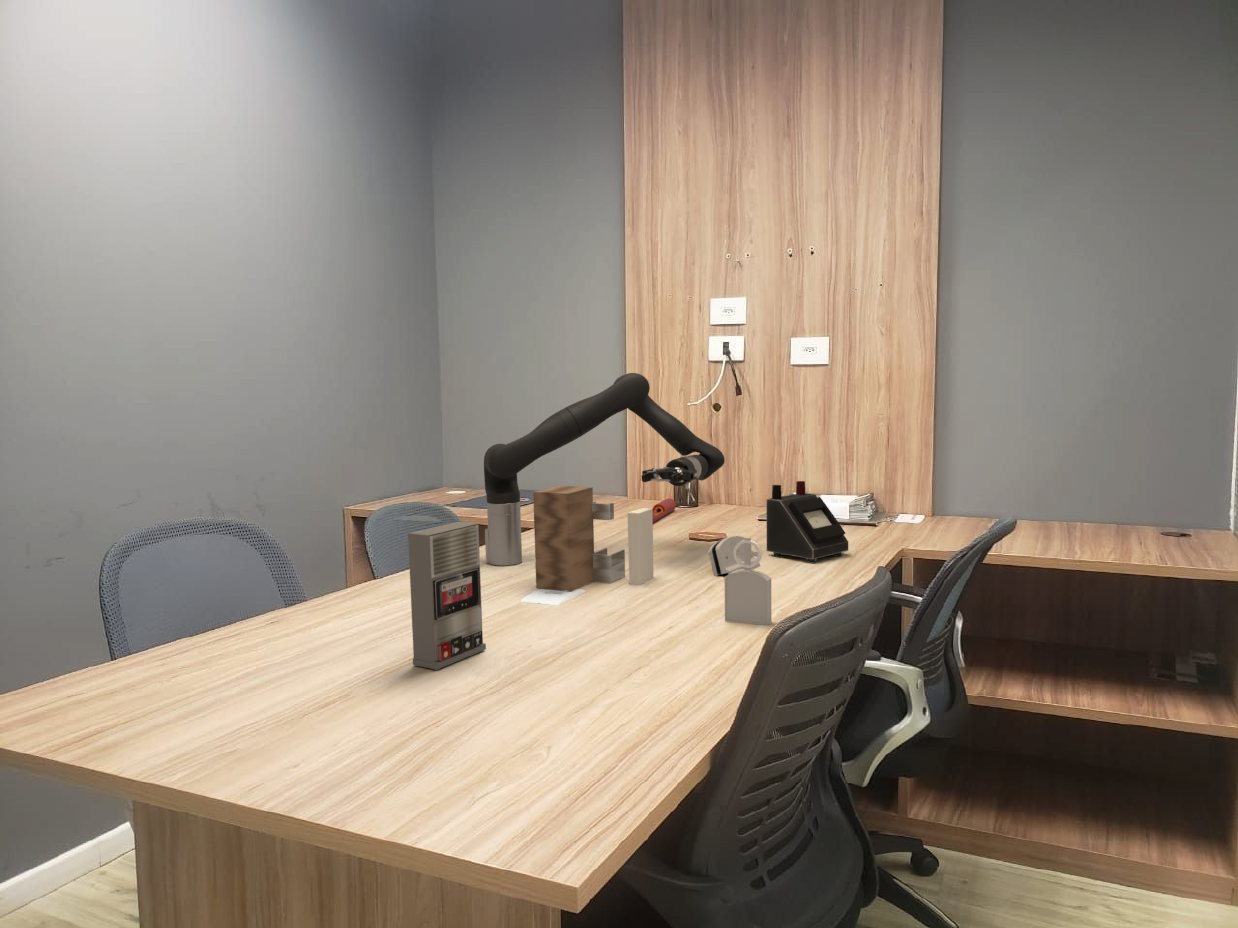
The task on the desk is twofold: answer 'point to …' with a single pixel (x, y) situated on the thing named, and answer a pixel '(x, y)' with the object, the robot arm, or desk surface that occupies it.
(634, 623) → the desk surface
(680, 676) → the desk surface
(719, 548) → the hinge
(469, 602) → the cassette tape recorder
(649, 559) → the beige rectangular block
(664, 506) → the blood vessel
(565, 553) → the cabinet
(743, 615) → the gravestone
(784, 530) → the voltmeter
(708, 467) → the robot arm
